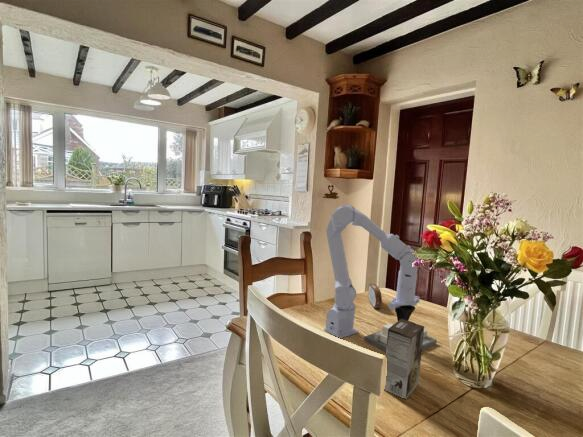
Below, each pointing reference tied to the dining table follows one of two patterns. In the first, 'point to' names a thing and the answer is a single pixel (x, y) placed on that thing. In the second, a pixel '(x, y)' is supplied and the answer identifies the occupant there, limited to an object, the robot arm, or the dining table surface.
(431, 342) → the switch plate
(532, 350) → the dining table surface
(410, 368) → the coffee box
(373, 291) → the clock
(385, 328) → the switch tab
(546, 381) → the dining table surface
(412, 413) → the dining table surface
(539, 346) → the dining table surface
